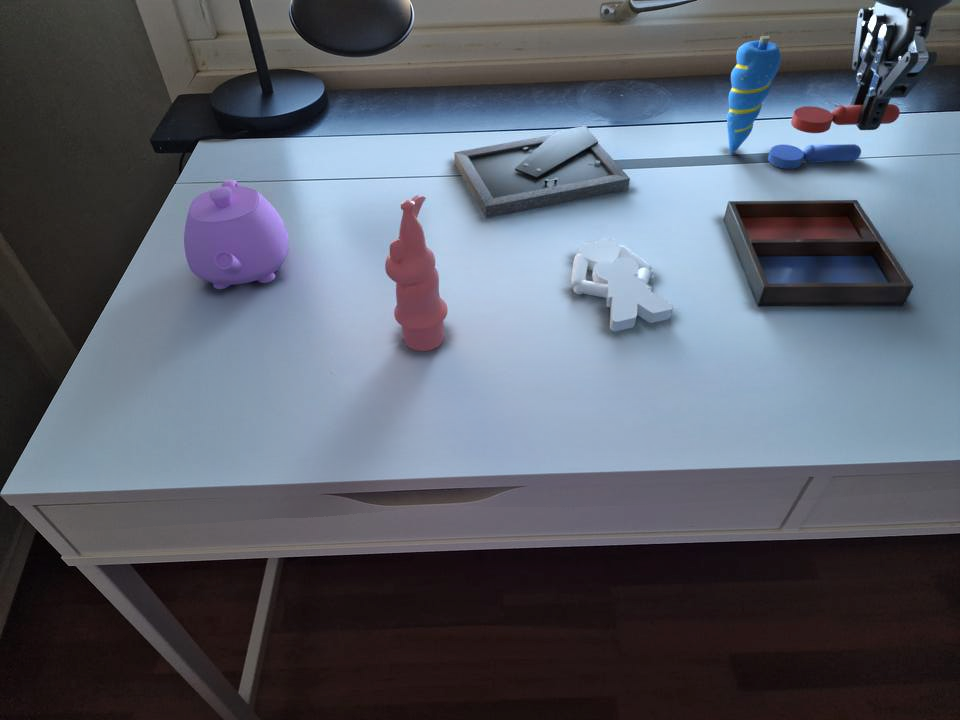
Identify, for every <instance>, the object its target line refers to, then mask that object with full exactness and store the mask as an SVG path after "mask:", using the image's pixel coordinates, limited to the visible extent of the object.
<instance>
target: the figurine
mask: <svg viewBox="0 0 960 720" xmlns="http://www.w3.org/2000/svg"><path fill="white" fill-rule="evenodd" d="M426 199H427V198H426V197H425V196H423V195H419V194H418V195H415V196H413V197H411V198H410V199H409V200H408V199H407V200H404V201H402V202H401V203H400V209H401V210H402V216H401V220H400V226H399V232H398V238H397V239H394V240H392V241H390V244H389V253H388V255H387V256H386V259H385V263H384V271H385V273H386V275H387V277H388V278H389V279H390V280H391V281H393V282H394V283H396V284H395V299H396V305H395V308H394V309H393V317H394V319H395V321H396V322H397V324H399V325H400V326H401V331H402V337H403V342H404V344H405V345H406V346H407V347H408V348H409V349H411V350H413V351H416V352H429V351H432V350H435V349H437V348H439V347H440V346H441V345H442V344H443V343H444V341H445V338H446V334H445V323H444V320H445V319H446V317H447V316H448V311H449V309H448V305H447V303H446V302H445V300H443V298H441V296H440V276H439V272H438V269H437V268H436V257H435V254H434V252H433V251H432V249H430V248H429V247H428V246H427V243H426V237H425V233H424V229H423V227H422V224H421V222H420V221H419V220H418V217H419V213H420V211H421V209H422V206H423V204H424V202H426Z"/></svg>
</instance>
